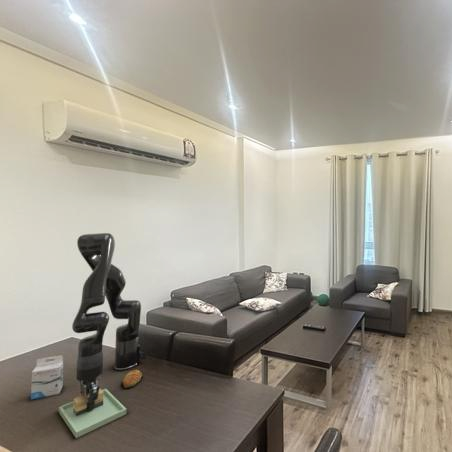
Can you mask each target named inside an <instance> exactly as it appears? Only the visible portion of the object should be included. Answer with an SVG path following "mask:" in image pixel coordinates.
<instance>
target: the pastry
mask: <svg viewBox="0 0 452 452" xmlns="http://www.w3.org/2000/svg"><path fill="white" fill-rule="evenodd" d="M142 376H143V373H142V372H141V371H140V370H138V369H133V370H131V371H128V372H127V373H126V375H125V376H124V377H123V379H122V385H123V388H124V389H126V388H131V387H135V386H136V385H137V384H138V383H139V381H141V378H142Z"/></svg>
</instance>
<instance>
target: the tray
mask: <svg viewBox="0 0 452 452" xmlns="http://www.w3.org/2000/svg"><path fill="white" fill-rule="evenodd" d="M101 390H102V391H103V392H104V398H103V405H101V406H99V407H96V408H94V409H93V410H91V411H87V412H85V413H82V414H80V415H78V416H76V415H75V414H74V412H73V401H71V402H67V403H65V404H63V405H60V406H59V407H58V414H59V415H60V416H61V418H62V419H63V421H64V423H65V424H66V426H67V427H68V429H69V430H70V432H71V433H72V435H73V436H74V438H75V439H77V438H78V439H79V437H81V436H85V435H86V434H88V433H90V432H92V431H94V430H96V429H99V428H100V427H102V426H105V425H107V424H108V423H111V422H113V421H115V420H117V419H119V418H121V417H123V416H125V415H127V407H125V405H123V403H121V402H120V401H119V400H118V399H117V398H116V397H115V396H114V395H113V394H112V393H111V392H110V390H108V388H104V389H101Z"/></svg>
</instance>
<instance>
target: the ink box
mask: <svg viewBox="0 0 452 452" xmlns="http://www.w3.org/2000/svg"><path fill="white" fill-rule="evenodd" d="M63 381H64V355H63V354H61V355H60V354H59V355H53V356H48V357H42V358H37V359H36V366H35V367H34V369H33V370H32V371H31V384H30V385H31V386H30V400H31V401H32V400H33V401H34V400H38V399H41V398H46V397H50V396H51V397H52V396H55V395H59V394H61V391H62V390H63V385H64V384H63Z"/></svg>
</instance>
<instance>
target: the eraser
mask: <svg viewBox="0 0 452 452" xmlns="http://www.w3.org/2000/svg"><path fill="white" fill-rule="evenodd" d="M102 390H103V389H102V388H99V393H98V399H97V400H95V408H96V407H99V406H101V405H103V398H104V392H103V391H102ZM72 402H73V412H74V414H75V415H76V416H78V415H80V414H82V413H85V412H87V396H85V395H82V394H81V395H80V396H77V397H74V398H73V401H72Z"/></svg>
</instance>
